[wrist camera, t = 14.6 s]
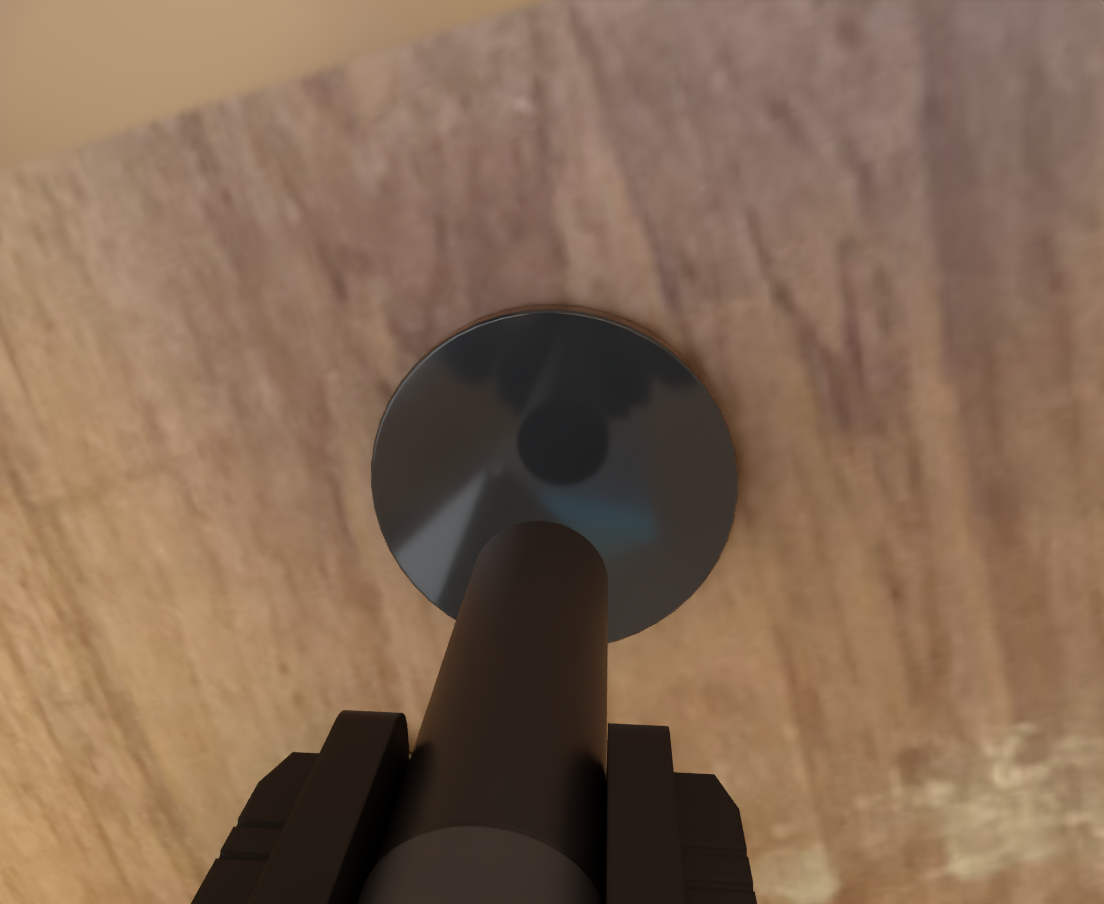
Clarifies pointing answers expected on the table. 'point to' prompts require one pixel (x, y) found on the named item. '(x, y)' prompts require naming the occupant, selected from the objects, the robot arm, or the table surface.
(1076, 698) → the table surface
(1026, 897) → the table surface
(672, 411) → the coaster
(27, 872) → the table surface
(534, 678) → the cylinder
